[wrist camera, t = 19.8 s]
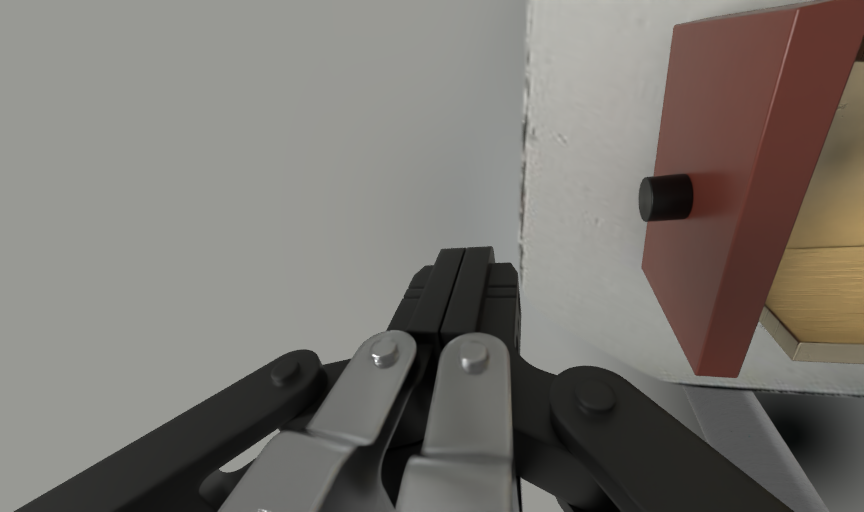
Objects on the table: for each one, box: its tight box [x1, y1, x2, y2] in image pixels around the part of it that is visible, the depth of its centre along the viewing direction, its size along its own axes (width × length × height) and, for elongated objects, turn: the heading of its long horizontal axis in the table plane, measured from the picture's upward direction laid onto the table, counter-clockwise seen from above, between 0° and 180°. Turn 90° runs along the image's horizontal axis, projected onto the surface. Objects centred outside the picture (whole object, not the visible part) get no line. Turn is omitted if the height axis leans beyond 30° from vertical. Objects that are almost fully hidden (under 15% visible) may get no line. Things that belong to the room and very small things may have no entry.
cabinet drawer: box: [639, 0, 864, 378], centre depth 10 cm, size 12×10×7 cm
